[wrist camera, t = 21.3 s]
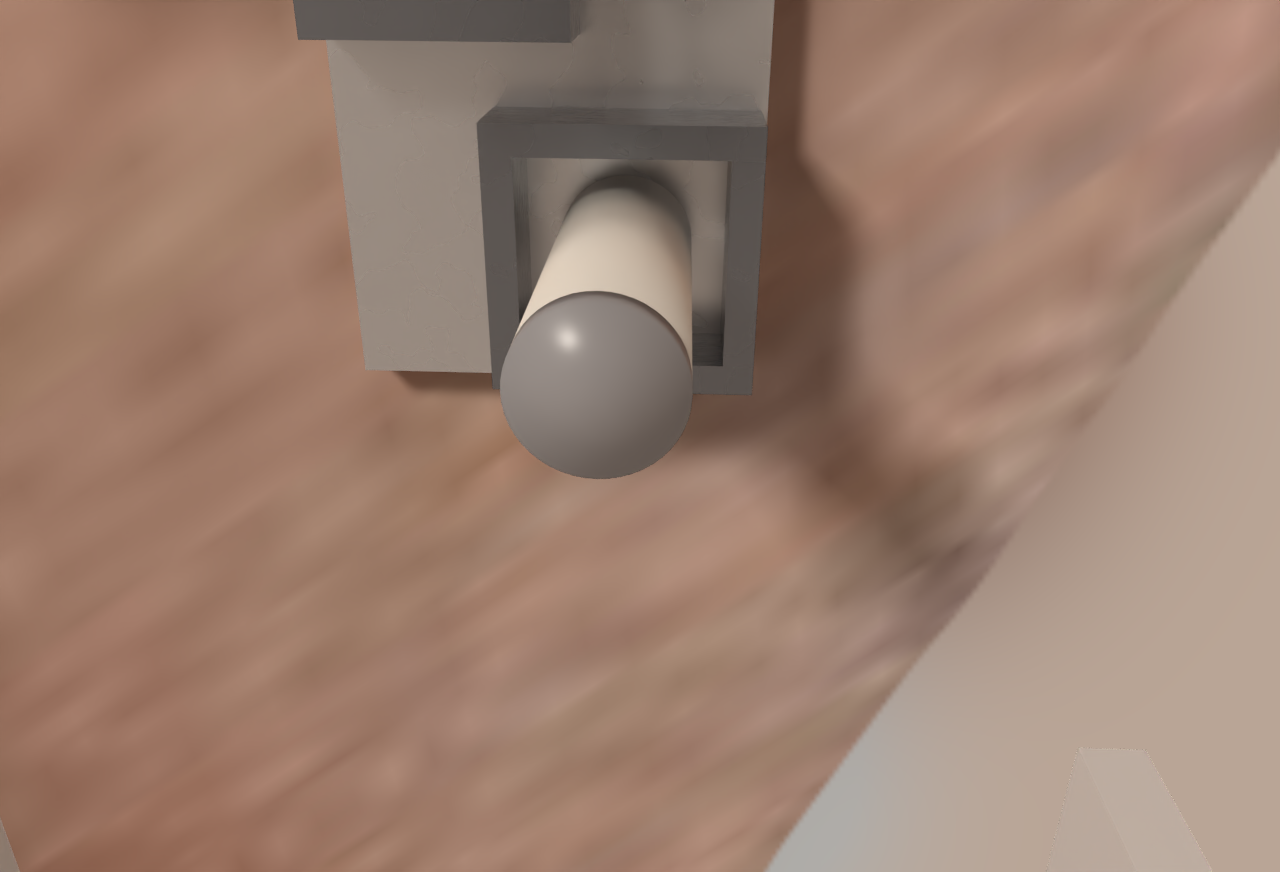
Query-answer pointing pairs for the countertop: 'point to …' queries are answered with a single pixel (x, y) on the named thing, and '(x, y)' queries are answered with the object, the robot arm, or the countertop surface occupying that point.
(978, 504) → the countertop surface
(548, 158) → the dock
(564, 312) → the cream round peg
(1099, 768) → the robot arm
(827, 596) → the countertop surface
